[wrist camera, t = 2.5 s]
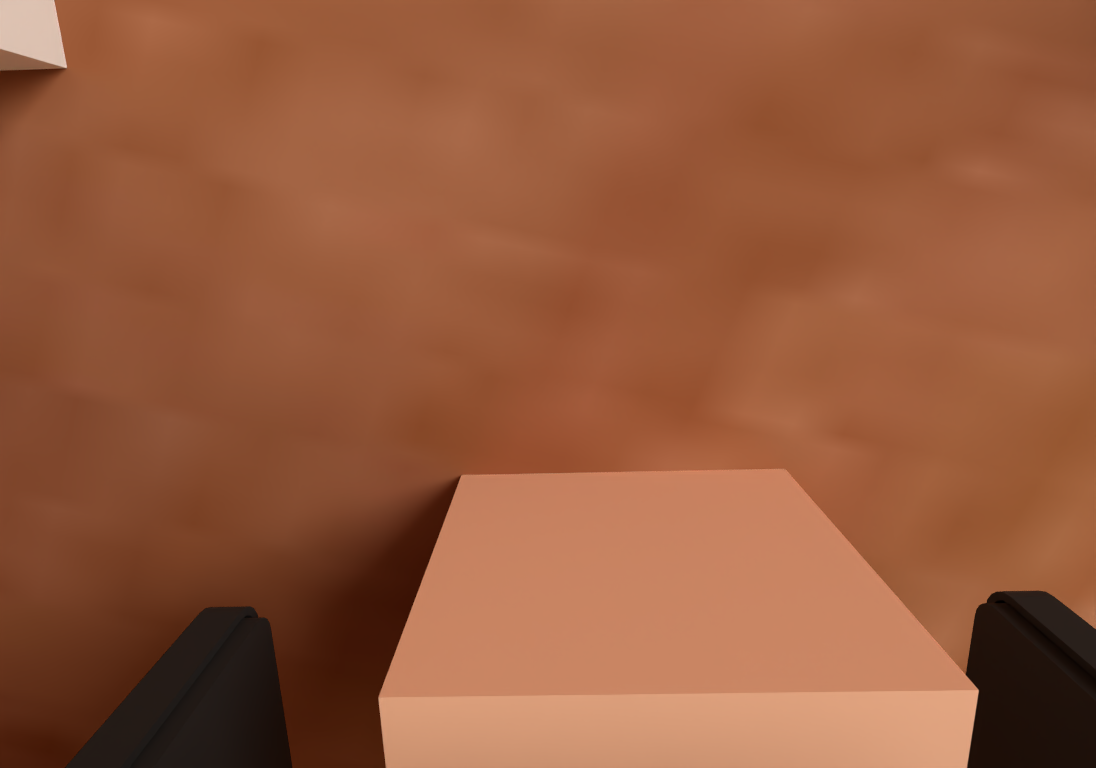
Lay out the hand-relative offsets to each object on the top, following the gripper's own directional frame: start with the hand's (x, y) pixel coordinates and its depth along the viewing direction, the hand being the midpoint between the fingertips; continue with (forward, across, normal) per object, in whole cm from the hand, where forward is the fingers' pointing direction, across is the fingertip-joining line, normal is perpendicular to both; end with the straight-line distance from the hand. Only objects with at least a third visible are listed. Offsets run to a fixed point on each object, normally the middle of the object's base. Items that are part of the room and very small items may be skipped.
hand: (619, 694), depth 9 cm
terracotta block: (+2, 0, 0) cm, 2 cm away
